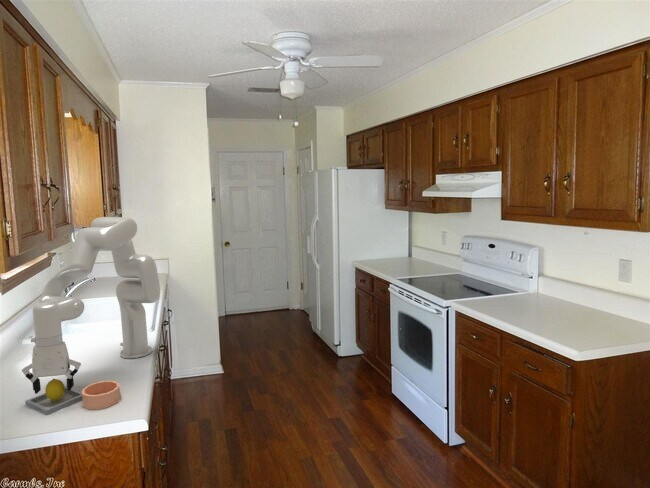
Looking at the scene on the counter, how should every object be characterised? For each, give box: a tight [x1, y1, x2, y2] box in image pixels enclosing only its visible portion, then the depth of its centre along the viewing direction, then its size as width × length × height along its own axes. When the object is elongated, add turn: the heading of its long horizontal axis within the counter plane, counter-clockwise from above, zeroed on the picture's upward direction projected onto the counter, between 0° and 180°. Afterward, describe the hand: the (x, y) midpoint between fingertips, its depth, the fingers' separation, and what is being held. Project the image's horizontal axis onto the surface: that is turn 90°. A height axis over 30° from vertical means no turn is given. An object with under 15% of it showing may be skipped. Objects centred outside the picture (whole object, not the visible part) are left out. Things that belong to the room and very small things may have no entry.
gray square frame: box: [24, 384, 83, 416], centre depth 157 cm, size 13×13×2 cm
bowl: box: [81, 380, 122, 410], centre depth 157 cm, size 11×11×4 cm
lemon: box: [44, 378, 66, 403], centre depth 156 cm, size 6×6×8 cm
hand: (54, 390), depth 156 cm, fingers open, 9 cm apart
